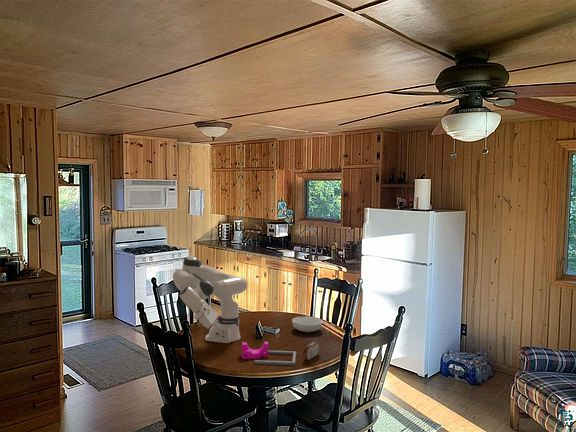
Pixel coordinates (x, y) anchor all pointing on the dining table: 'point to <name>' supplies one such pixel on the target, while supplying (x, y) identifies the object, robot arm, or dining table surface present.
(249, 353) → the toy block
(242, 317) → the dining table surface
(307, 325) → the serving bowl
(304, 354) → the tin
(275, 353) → the frame
